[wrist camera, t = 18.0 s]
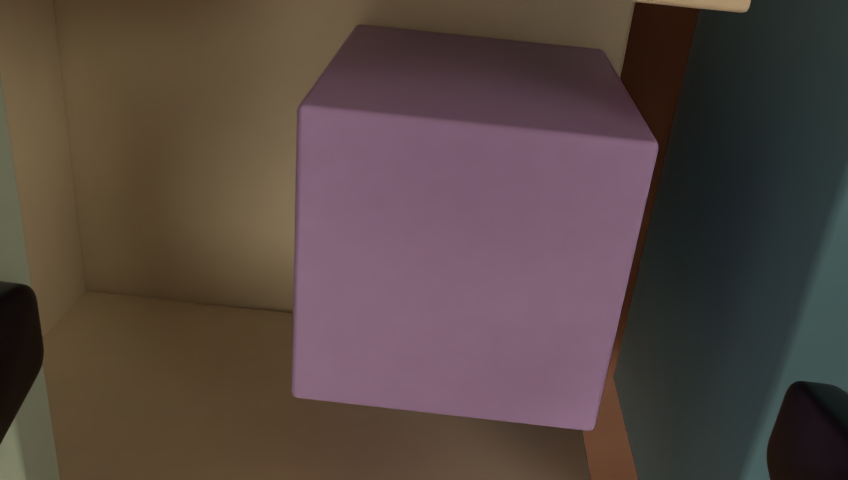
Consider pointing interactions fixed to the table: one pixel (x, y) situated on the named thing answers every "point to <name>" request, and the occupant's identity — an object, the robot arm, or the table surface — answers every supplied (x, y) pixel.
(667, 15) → the table surface
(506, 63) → the mauve rounded cube
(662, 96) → the table surface
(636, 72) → the table surface
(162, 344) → the drawer
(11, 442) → the green drawer cabinet
